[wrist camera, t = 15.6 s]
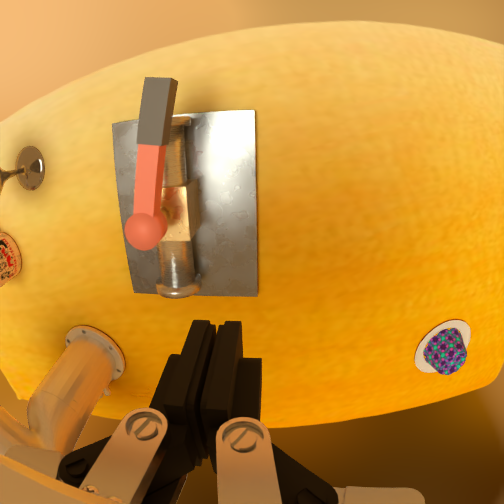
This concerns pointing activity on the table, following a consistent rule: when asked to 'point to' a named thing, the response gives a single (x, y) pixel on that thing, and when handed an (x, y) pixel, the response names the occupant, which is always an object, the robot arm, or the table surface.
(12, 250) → the teacup with lid
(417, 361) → the pudding
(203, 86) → the table surface
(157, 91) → the lever
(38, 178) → the wine glass
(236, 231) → the valve
